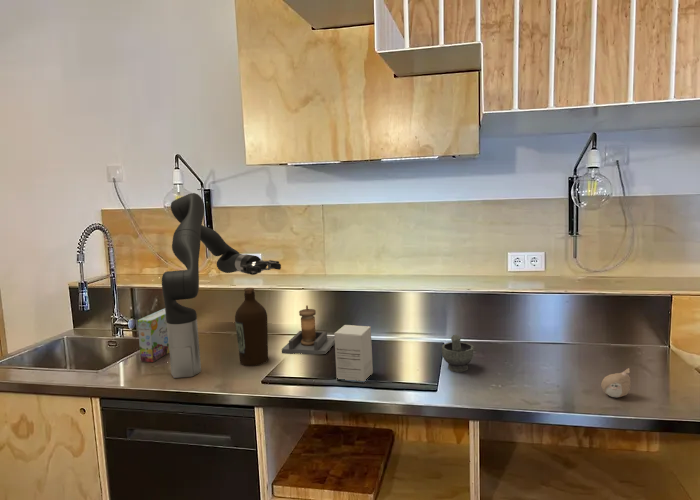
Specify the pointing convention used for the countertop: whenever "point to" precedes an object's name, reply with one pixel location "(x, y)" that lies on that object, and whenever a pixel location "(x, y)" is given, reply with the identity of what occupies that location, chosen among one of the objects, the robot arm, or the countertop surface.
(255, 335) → the olive oil
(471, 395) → the countertop surface
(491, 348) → the countertop surface
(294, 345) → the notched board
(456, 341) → the mortar and pestle
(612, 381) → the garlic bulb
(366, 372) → the supplement box
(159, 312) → the snack box
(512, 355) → the countertop surface
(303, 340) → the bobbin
